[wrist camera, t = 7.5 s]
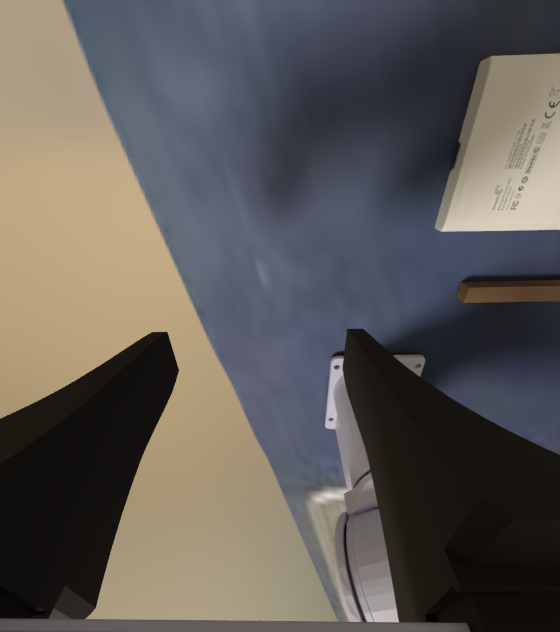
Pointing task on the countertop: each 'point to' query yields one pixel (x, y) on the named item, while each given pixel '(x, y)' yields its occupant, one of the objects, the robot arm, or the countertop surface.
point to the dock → (509, 291)
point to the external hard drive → (508, 149)
